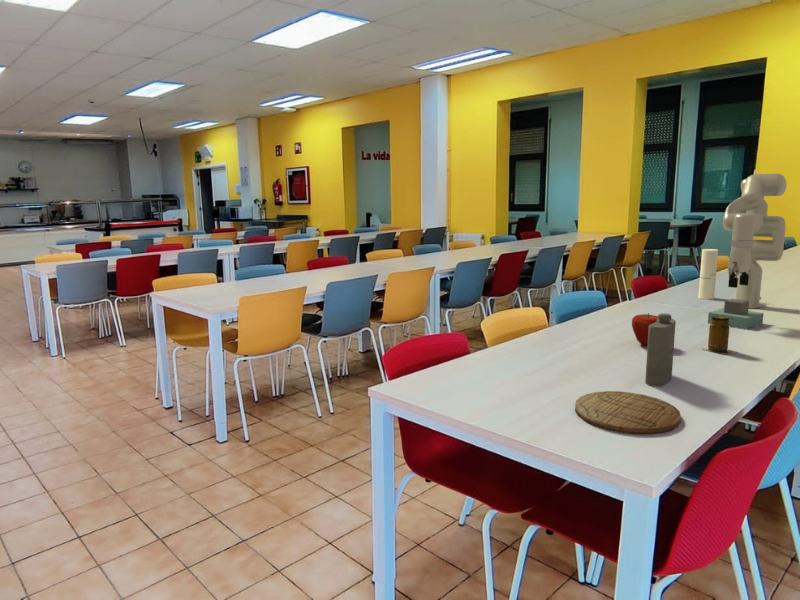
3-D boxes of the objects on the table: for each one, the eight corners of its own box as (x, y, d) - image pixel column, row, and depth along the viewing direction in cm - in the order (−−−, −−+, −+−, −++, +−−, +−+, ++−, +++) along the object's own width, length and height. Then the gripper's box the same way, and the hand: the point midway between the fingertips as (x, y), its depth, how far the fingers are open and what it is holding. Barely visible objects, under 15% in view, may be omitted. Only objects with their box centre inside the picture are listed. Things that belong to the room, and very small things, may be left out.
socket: (724, 317, 245) (725, 307, 245) (762, 323, 234) (763, 313, 233) (707, 322, 237) (708, 312, 236) (746, 329, 225) (747, 318, 224)
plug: (730, 319, 240) (732, 298, 238) (747, 322, 234) (749, 301, 233) (723, 321, 236) (724, 300, 234) (739, 324, 231) (741, 303, 229)
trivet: (660, 445, 126) (661, 437, 126) (557, 417, 143) (558, 410, 143) (693, 412, 144) (694, 405, 144) (598, 391, 161) (599, 384, 161)
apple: (631, 347, 203) (632, 315, 200) (630, 340, 213) (631, 309, 210) (664, 350, 199) (667, 316, 197) (662, 342, 209) (664, 310, 207)
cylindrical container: (716, 299, 285) (721, 250, 280) (702, 299, 285) (706, 250, 281) (709, 296, 292) (713, 248, 288) (695, 297, 292) (699, 249, 288)
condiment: (715, 346, 202) (717, 314, 200) (737, 352, 195) (741, 318, 192) (701, 349, 199) (704, 316, 197) (724, 355, 191) (727, 321, 189)
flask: (664, 388, 161) (669, 320, 158) (643, 384, 165) (647, 318, 161) (675, 374, 173) (680, 310, 170) (655, 371, 177) (659, 308, 173)
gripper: (741, 243, 237) (738, 283, 240) (722, 245, 227) (718, 287, 230) (761, 244, 231) (757, 285, 234) (742, 246, 221) (738, 289, 224)
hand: (738, 286), depth 232 cm, fingers open, 9 cm apart
